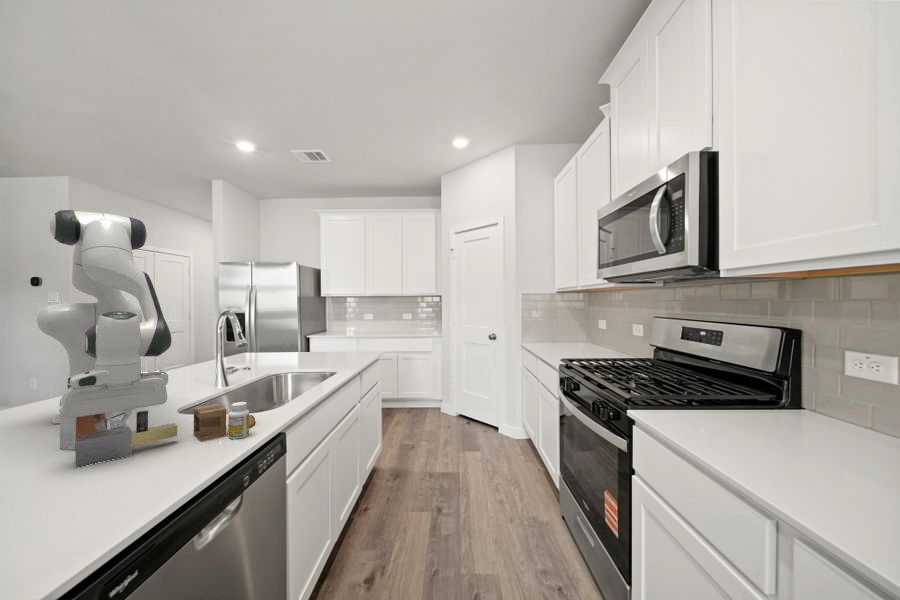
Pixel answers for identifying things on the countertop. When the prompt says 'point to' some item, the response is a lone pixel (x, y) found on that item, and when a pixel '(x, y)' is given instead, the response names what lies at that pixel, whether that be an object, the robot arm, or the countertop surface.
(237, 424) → the supplement bottle
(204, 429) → the socket
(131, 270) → the robot arm
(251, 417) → the pastry
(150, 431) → the yellow bar with knob
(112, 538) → the countertop surface
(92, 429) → the small box
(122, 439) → the sleeve
